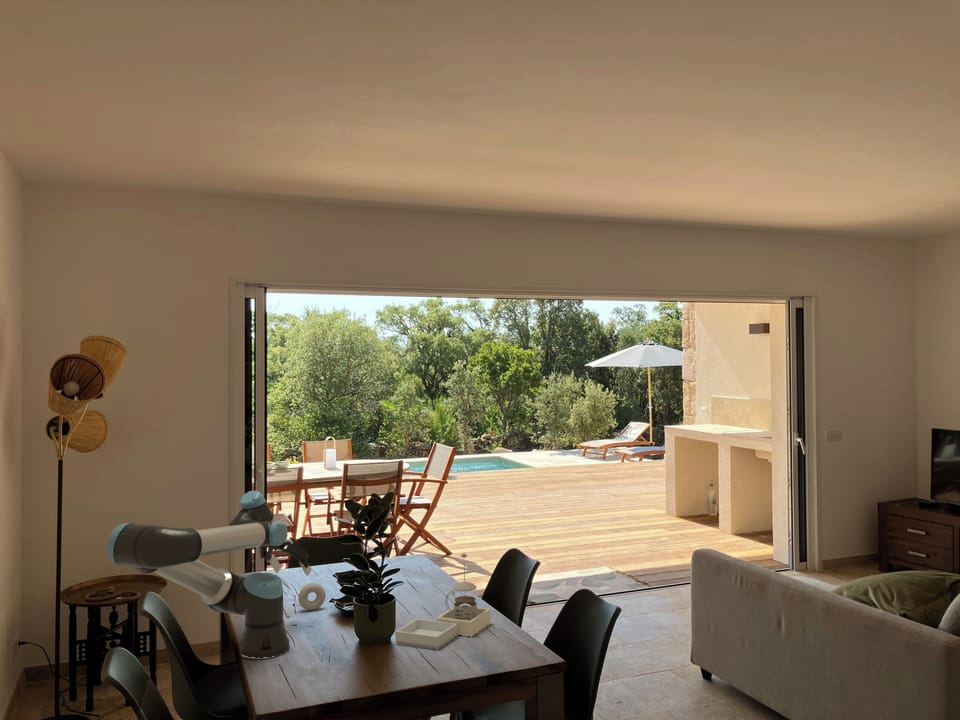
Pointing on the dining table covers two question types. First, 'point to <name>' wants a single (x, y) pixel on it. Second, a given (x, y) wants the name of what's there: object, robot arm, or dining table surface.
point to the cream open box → (468, 626)
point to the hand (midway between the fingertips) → (293, 571)
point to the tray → (426, 634)
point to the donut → (305, 592)
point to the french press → (464, 600)
